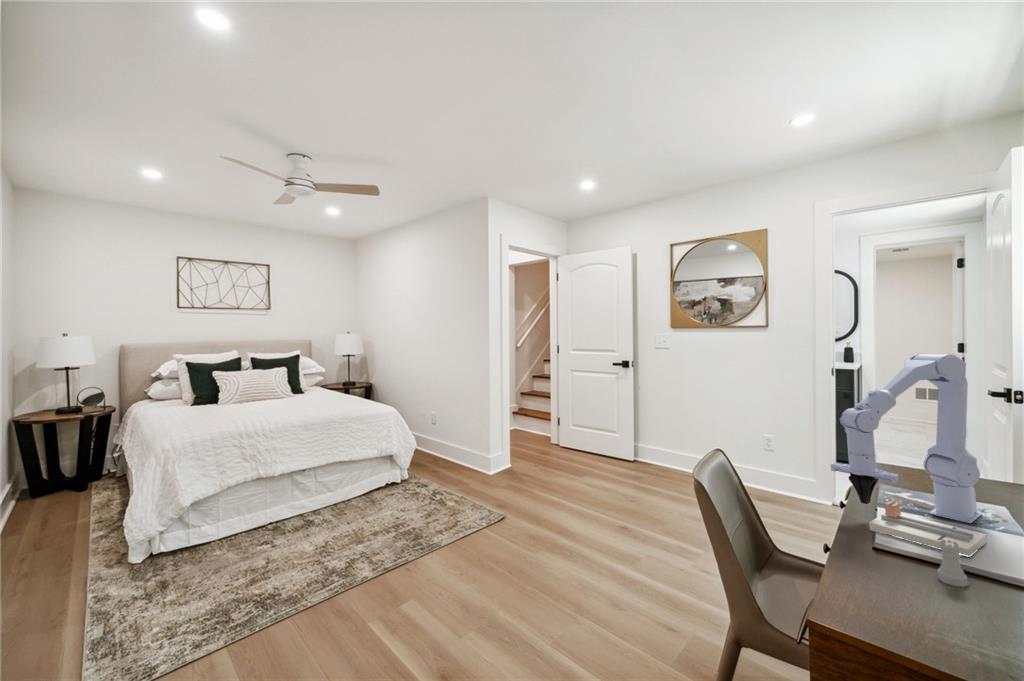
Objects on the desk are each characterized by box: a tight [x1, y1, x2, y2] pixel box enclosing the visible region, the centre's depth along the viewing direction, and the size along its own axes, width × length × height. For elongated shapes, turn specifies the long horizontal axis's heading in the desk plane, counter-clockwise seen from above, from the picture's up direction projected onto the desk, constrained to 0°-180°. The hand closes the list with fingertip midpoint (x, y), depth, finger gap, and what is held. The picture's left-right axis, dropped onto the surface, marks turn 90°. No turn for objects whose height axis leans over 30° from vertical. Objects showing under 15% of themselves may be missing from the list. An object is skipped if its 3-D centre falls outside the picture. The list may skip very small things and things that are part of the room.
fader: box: [884, 500, 902, 518], centre depth 109 cm, size 3×2×4 cm, turn 119°
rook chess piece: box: [937, 540, 969, 588], centre depth 85 cm, size 4×4×8 cm
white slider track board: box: [868, 512, 988, 556], centre depth 104 cm, size 12×18×3 cm, turn 29°
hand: (865, 502), depth 114 cm, fingers closed
